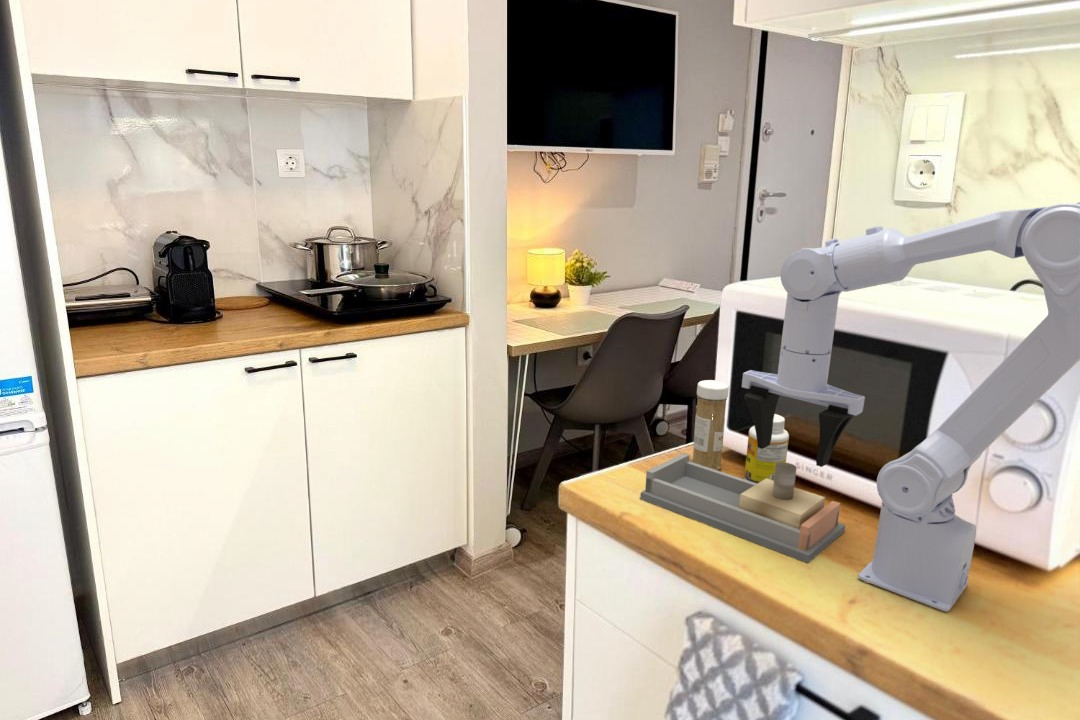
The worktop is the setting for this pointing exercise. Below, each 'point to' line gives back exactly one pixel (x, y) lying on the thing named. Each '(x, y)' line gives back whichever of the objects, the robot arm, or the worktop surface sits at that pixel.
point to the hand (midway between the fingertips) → (792, 454)
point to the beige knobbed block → (782, 498)
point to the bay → (735, 508)
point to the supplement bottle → (766, 452)
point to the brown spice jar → (710, 423)
